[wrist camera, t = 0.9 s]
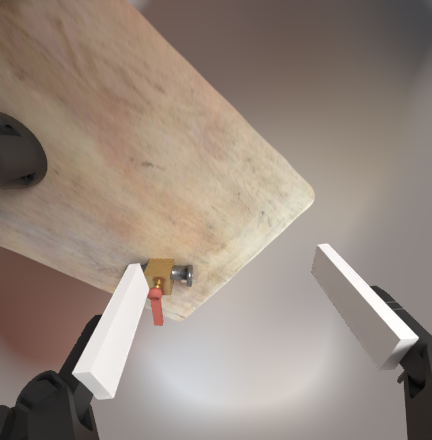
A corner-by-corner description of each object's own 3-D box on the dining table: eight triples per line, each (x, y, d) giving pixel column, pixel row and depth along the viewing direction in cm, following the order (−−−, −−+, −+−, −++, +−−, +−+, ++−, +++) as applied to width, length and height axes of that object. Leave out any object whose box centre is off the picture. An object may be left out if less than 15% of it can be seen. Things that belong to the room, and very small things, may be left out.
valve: (135, 281, 58) (124, 305, 51) (130, 258, 54) (118, 281, 46) (197, 282, 60) (195, 305, 52) (197, 259, 55) (195, 282, 48)
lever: (147, 287, 47) (146, 290, 46) (161, 287, 48) (160, 291, 47) (153, 321, 54) (152, 325, 53) (165, 321, 54) (164, 325, 53)
